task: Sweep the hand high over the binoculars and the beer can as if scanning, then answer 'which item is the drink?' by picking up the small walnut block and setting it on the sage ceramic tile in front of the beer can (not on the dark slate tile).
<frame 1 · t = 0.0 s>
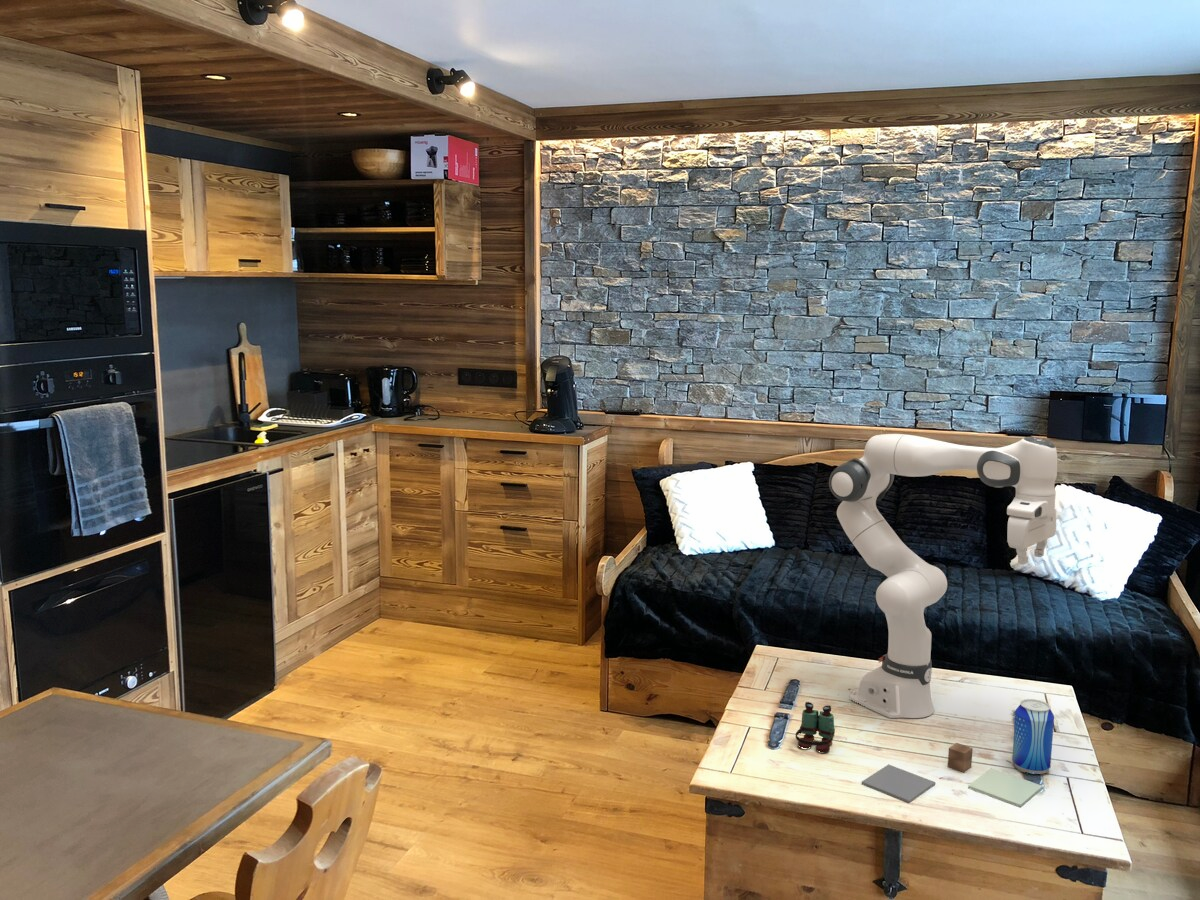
hand: (1030, 560, 237), 48 cm above the table, fingers open, 8 cm apart
sage tile: (1005, 788, 223), on the table
beer can: (1030, 768, 232), on the table
binoculars: (815, 748, 243), on the table
slate tile: (898, 784, 224), on the table
walnut block: (959, 767, 233), on the table
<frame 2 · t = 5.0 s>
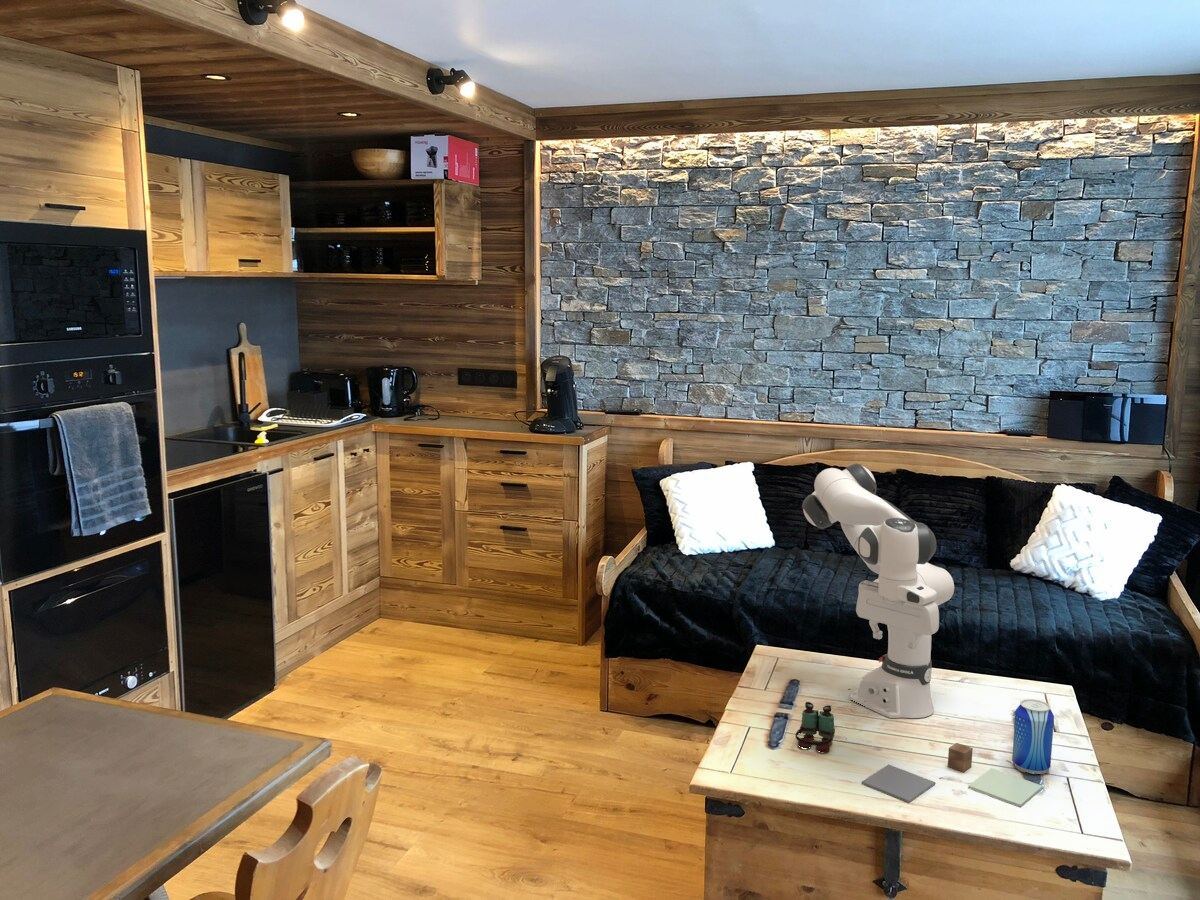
hand: (895, 643, 232), 30 cm above the table, fingers open, 8 cm apart
nothing on the table moved.
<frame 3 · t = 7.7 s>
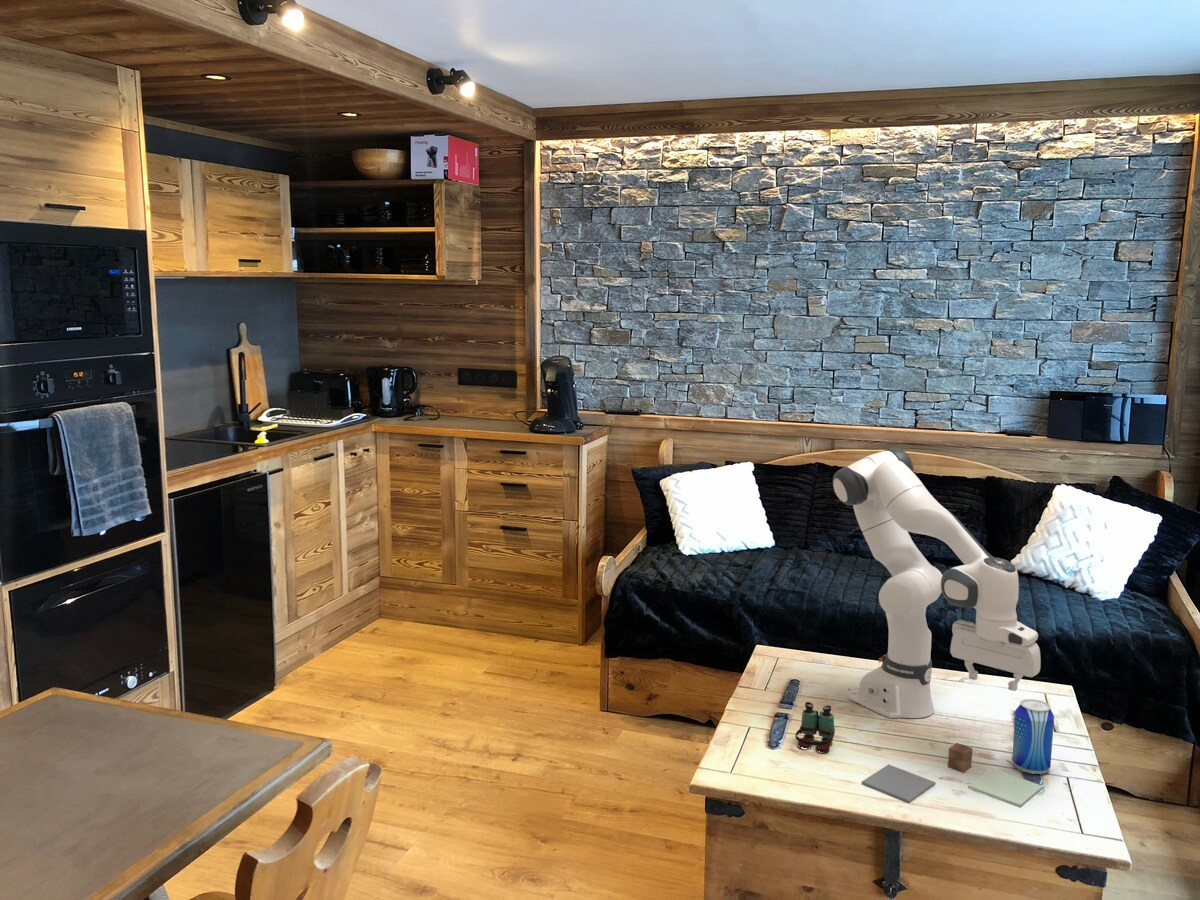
hand: (992, 684, 229), 21 cm above the table, fingers open, 8 cm apart
nothing on the table moved.
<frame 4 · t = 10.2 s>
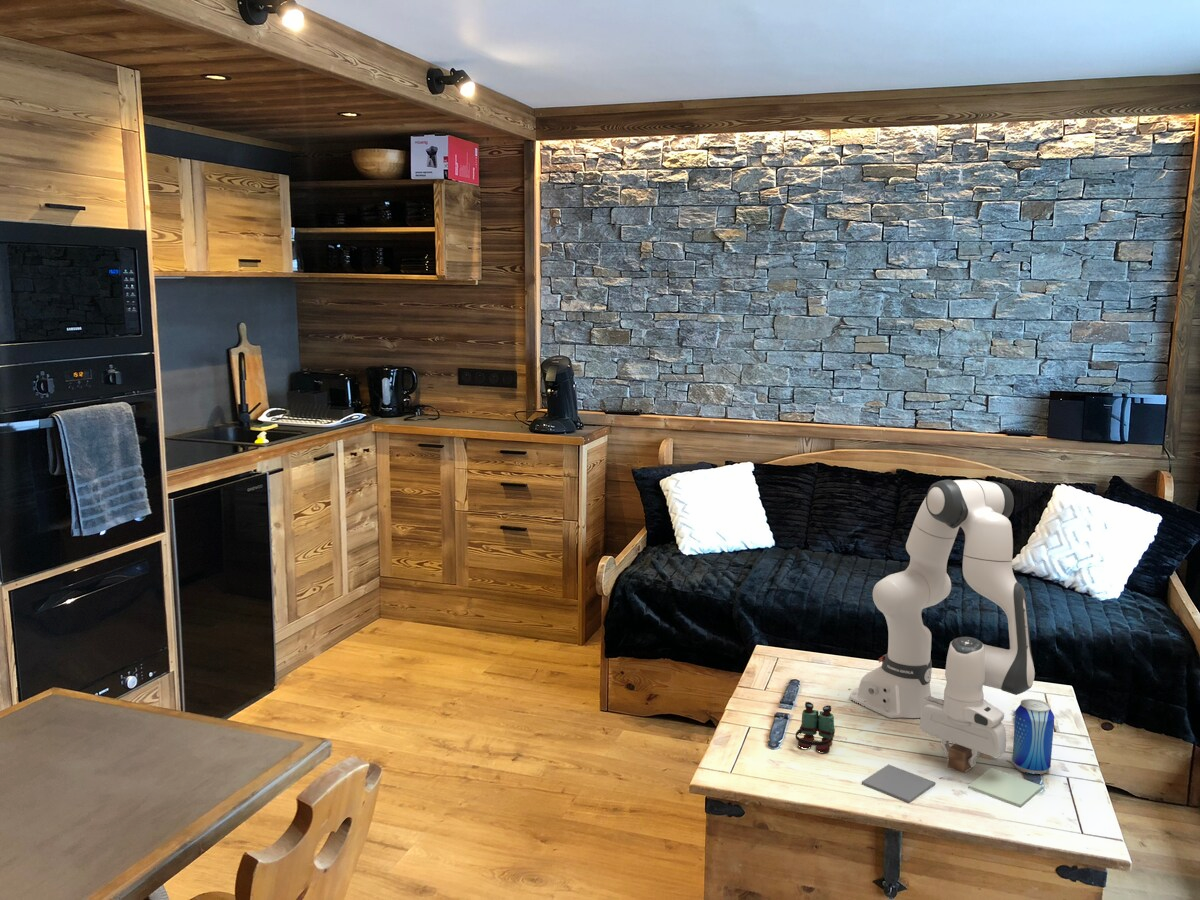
hand: (960, 760, 232), 2 cm above the table, fingers closed on walnut block, 4 cm apart
walnut block: (959, 767, 232), on the table, touching gripper
everything else where it was.
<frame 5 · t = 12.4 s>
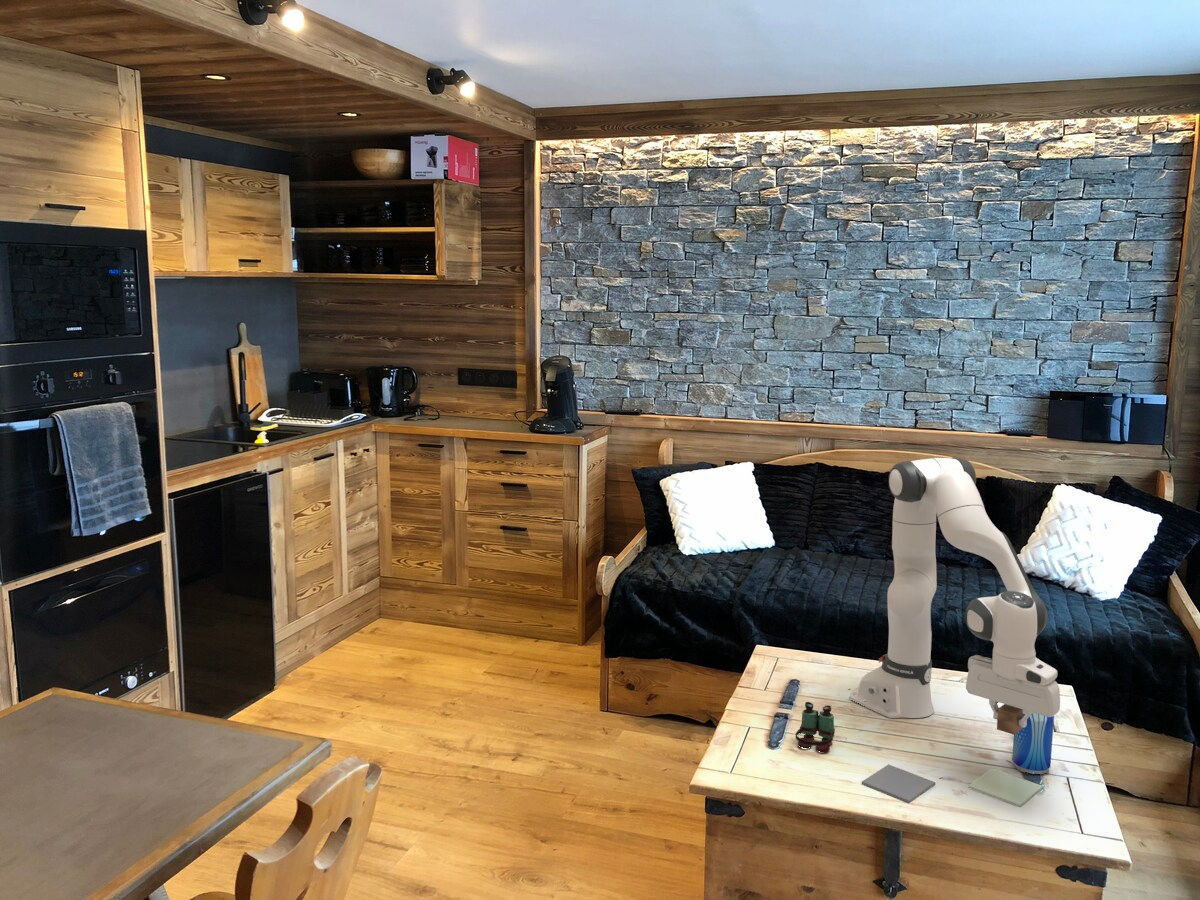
hand: (1009, 722, 220), 16 cm above the table, fingers closed on walnut block, 4 cm apart
walnut block: (1009, 729, 220), point 14 cm above the table, touching gripper
everything else where it was.
when the fingers open (4 cm above the table, at t = 14.5 s): walnut block drops 1 cm, resting on sage tile.
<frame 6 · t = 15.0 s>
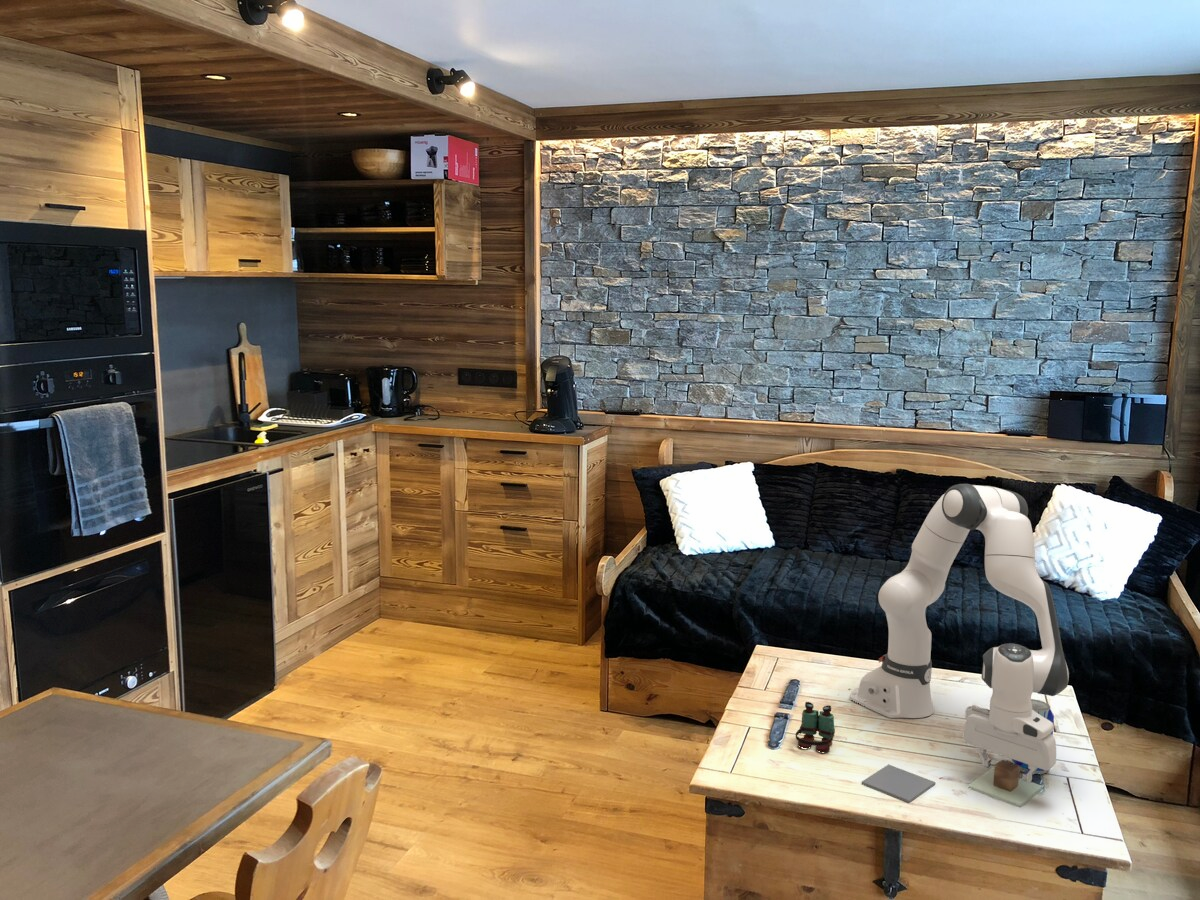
hand: (1006, 773, 222), 4 cm above the table, fingers open, 8 cm apart
walnut block: (1005, 785, 222), point 1 cm above the table, touching sage tile
everything else where it was.
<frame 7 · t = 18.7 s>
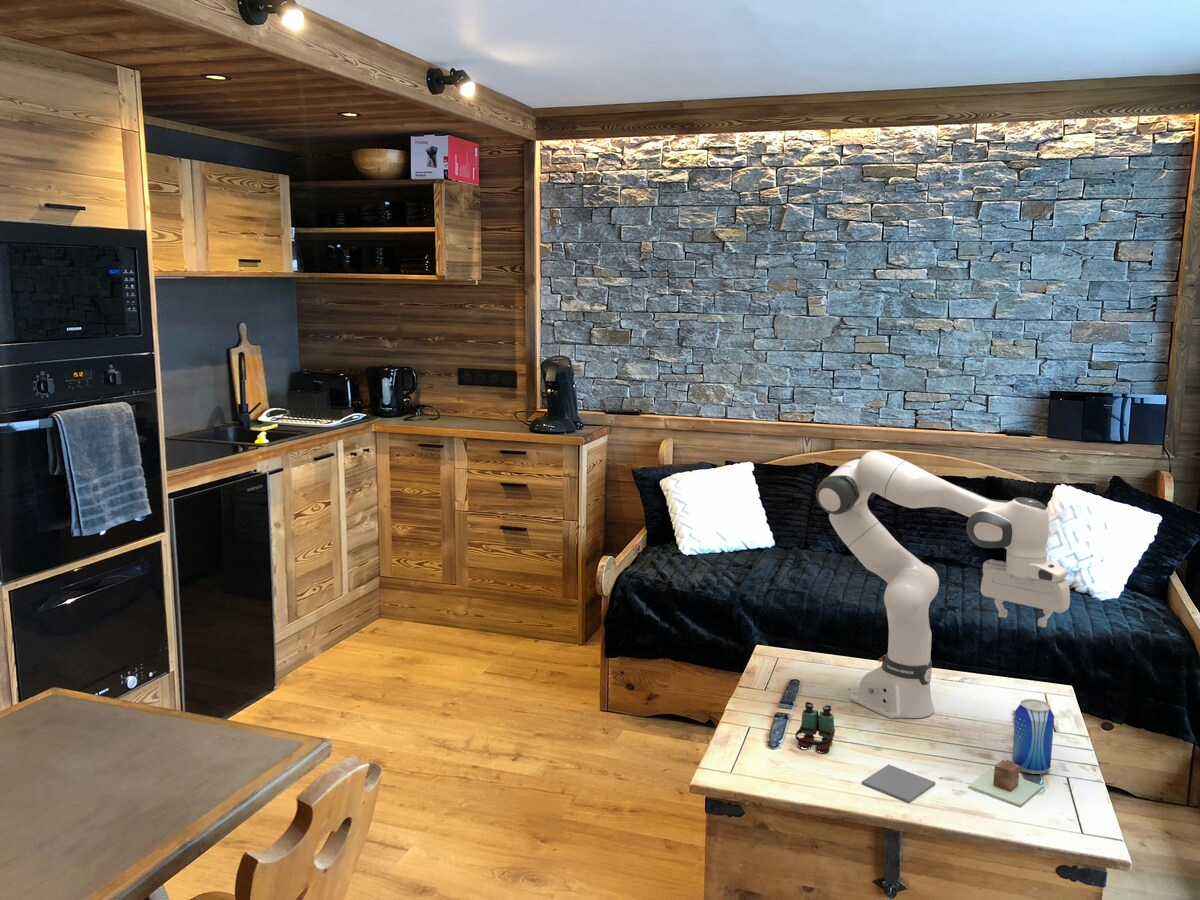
hand: (1022, 621, 234), 34 cm above the table, fingers open, 8 cm apart
nothing on the table moved.
at the end: walnut block inside the target area on the sage tile (0.0 cm from its centre), point 0.6 cm above the sage tile's base; walnut block tilted 0°; the gripper is holding nothing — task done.
